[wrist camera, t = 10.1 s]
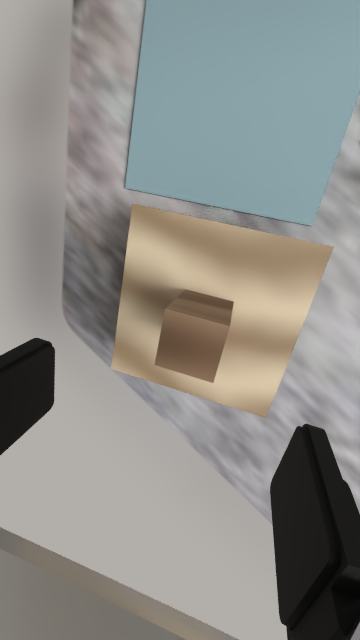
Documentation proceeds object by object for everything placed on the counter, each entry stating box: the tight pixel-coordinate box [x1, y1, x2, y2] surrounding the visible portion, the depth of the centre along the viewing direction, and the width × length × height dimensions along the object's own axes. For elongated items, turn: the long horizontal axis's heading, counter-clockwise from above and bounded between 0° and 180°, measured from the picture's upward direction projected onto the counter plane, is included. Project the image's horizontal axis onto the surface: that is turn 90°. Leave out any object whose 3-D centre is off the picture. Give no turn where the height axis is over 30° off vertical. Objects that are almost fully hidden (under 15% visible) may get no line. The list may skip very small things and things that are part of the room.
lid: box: [111, 204, 333, 418], centre depth 20 cm, size 15×15×7 cm
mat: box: [125, 0, 360, 226], centre depth 22 cm, size 18×18×1 cm
